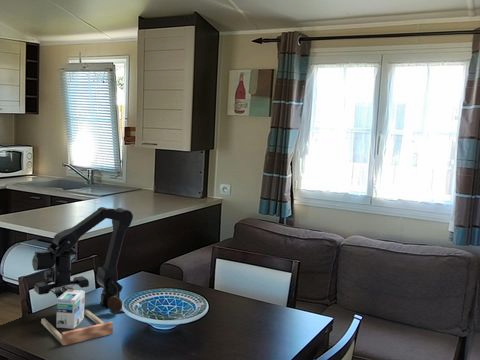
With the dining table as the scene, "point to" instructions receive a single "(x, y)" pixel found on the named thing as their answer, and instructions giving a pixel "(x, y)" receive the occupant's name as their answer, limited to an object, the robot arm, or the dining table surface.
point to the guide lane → (81, 330)
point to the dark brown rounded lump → (115, 304)
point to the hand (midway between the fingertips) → (61, 306)
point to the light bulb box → (70, 309)
